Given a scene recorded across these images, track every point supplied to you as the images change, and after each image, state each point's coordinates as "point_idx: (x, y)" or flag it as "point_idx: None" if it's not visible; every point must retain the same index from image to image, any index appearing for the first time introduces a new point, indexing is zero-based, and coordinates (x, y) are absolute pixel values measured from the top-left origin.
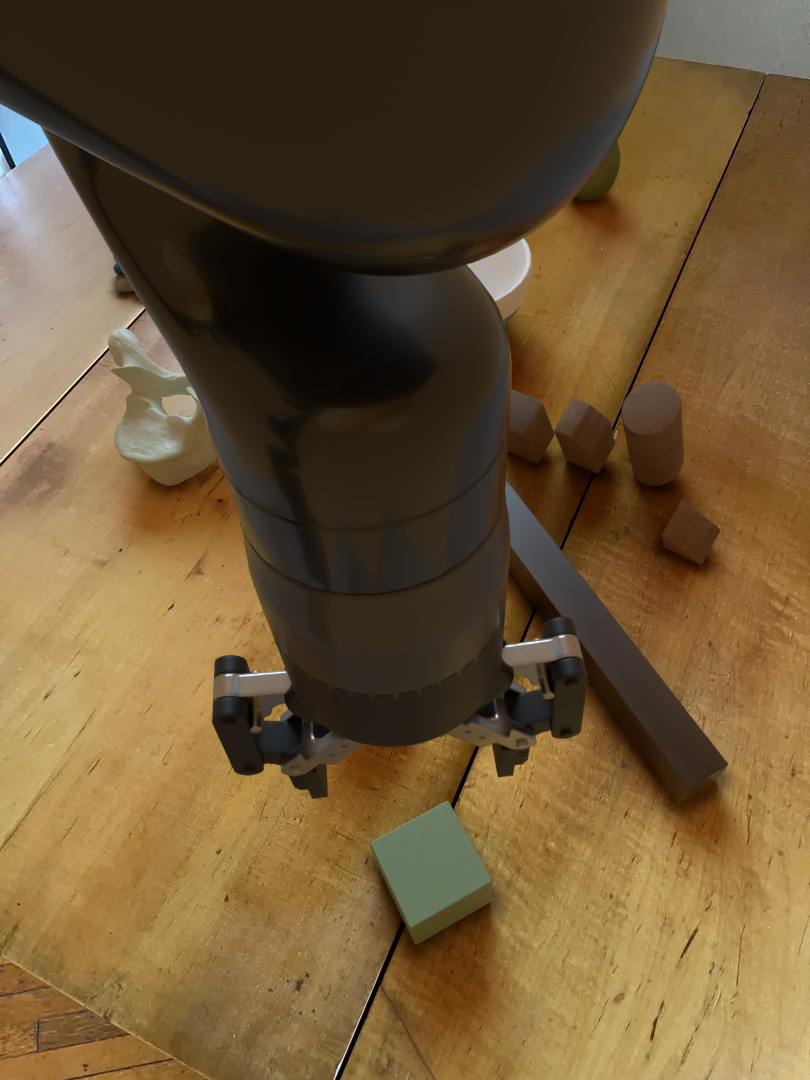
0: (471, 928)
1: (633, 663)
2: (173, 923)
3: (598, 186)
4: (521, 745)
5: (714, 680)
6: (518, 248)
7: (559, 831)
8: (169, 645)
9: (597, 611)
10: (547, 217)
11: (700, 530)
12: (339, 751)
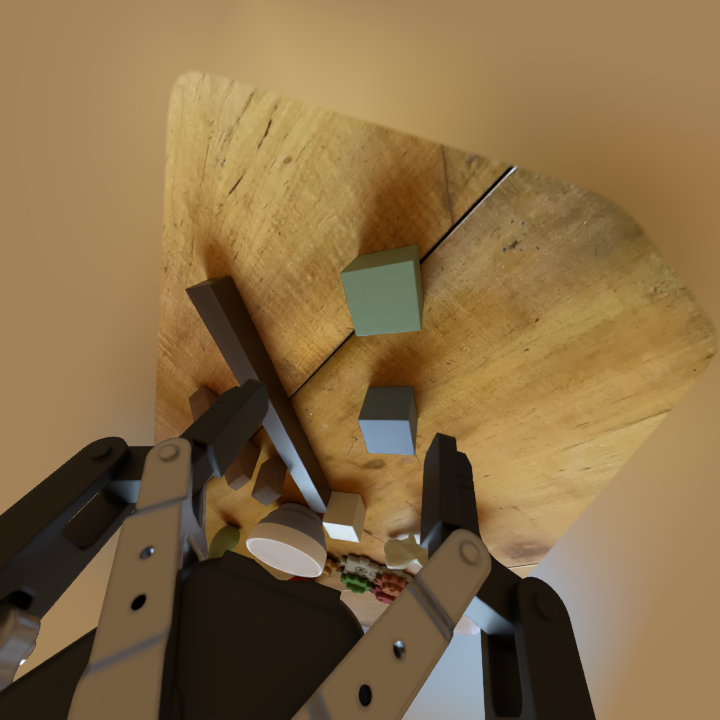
0: (375, 243)
1: (233, 361)
2: (585, 317)
3: (224, 533)
4: (163, 457)
5: (203, 331)
6: (253, 543)
7: (302, 283)
8: (497, 461)
9: None
10: None
11: (195, 403)
12: (380, 667)
